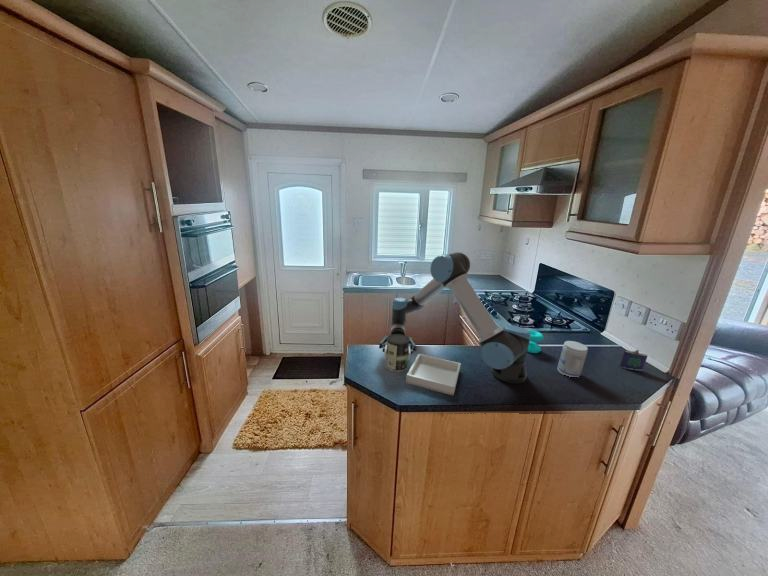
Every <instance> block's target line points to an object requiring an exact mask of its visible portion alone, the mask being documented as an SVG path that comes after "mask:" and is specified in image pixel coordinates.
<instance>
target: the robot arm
mask: <svg viewBox="0 0 768 576" xmlns="http://www.w3.org/2000/svg"><path fill="white" fill-rule="evenodd" d="M470 269H471V261H470V258H469V257H468V256H467V255H466V254H464V253H463V252H452V253H443V254H441V255H438V256H436V257H434V259H433V260H432V261H431V263H430V276H431V277H432V279H431V280H430V281H428V282H427V283H426V284H425V285H424V286H423V287H422V288H421V289H420V290H418V291H417V292H416V293H415V294H414V295H413V296H412V297H410V298H408V299H406V298H404V297H395V298H394V299H393V300H392V306H391V307H392V309H391V310H392V311H391V322H390V323H391V324H390V335H392V334H402V335H405V336H406V319H407V318H406V316H407V314H411V313H413V312H416V311H420V310H421V309H423V308H424V306H425V304H427V303H428V302H430V301H431V300H432V299H433V298H435V296H436V295H438V294H439V293H441V291H443V290H444V289H445V290H446V289H447V290H449V291H450V292H451V294H452V295H453V297H454V298H455V299H456V302H457V303H458V305H459V306H460V308H461V310H462V311H463V313H464V314H465V316H466V318H467V319H468V320H469V322H470V324H471V326H473V328H474V329H473V330H475V332H476V333H477V335H478V337H479V339H478V344H479V345H480V347H481V350H480V351H481V352H480V355H481V358H482V360H483V361H484V362H485V364H486V365H488V366H489V367H491V368H490V373H491V374H492V375H493V376H494V377H496V379H498V380H500V381H503V382H505V383H509V384H516V385H517V384H523V383H525V382H526V380H527V376H528V373H527V372H528V371H527V368H526V359H527V355H528V352H527V351H528V346H529V342H530V336H531V334H530V332H529V331H528V330H529V329H526V328H524V327H520V326H517V325H513V324H505V325H503V326H502V327H499V326H498V325H497V323H496V321H494V319H493V317H492V315H491V314H490V313H489V311H488V310H487V308H486V307H485V304H484V303H483V302H482V300H481V298H480V297H479V295H478V294H477V292H476V291H475V289H474V288H473V286H472V285H471V283H470V281H469V280H468V275H469V271H470ZM383 336H384V337H383V338H382V339H381V341H380V342H379V346H378V348H379V349H382V352H384V358H386V354H387V337H388V335H387V334H385V335H383ZM408 337H409V339H410V341H409V351H408V360H410V359H411V355H412V354H413V352H416V351H417V345H416V343H415V342H414V341H413V338H412V336H408Z"/></svg>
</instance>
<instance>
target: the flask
mask: <svg viewBox="0 0 768 576" xmlns="http://www.w3.org/2000/svg"><path fill="white" fill-rule="evenodd" d="M647 359H648V354H645V353H640V351H639V349H635V351H632V350H624V351H623V354H622V358H621V361H620V365H619V366H622V367H626V368H633V369H643V370H644V368H645V365H646V361H647Z"/></svg>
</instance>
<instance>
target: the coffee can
mask: <svg viewBox="0 0 768 576" xmlns="http://www.w3.org/2000/svg"><path fill="white" fill-rule="evenodd" d="M409 337H410V336H407V335H406V334H405V335H402V334H392V335H391V334H389V335H387V341H386V342H387V354H386V357H385V368H386V369H387V370H389V371H391V372H394V373H395V372H396V373H400V372H404V371H406V370H407V369H408V365H409V364H408V360H409V359H408V351H409V341H410V339H409Z"/></svg>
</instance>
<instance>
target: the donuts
mask: <svg viewBox="0 0 768 576" xmlns="http://www.w3.org/2000/svg"><path fill="white" fill-rule="evenodd" d="M527 330H528V331H529V332H530V334H531V336H530V342H529V346H528V351H527V353H531V354H538V353H541V351H542V347H541V346H540V345H539V344H538V342H542V341H543V340H544V339H545V338H544V337H545V336H544V335H543V333H541V332H540V331H537V330H533V329H527Z"/></svg>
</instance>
